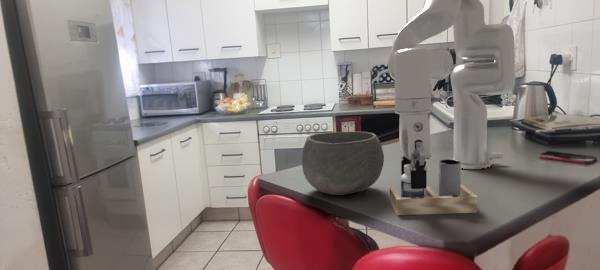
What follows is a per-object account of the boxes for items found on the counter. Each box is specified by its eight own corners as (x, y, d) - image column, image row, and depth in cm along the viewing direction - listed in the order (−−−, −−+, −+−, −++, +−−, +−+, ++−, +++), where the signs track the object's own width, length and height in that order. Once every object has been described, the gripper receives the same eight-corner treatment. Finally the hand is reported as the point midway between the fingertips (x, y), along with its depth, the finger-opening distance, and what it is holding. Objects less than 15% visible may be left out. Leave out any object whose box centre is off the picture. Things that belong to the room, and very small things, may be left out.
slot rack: (462, 199, 94) (462, 183, 94) (477, 212, 85) (477, 195, 85) (389, 201, 95) (389, 186, 94) (397, 215, 86) (396, 198, 86)
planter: (435, 203, 92) (435, 160, 91) (454, 202, 92) (455, 158, 91) (443, 210, 88) (444, 164, 86) (463, 208, 88) (464, 163, 86)
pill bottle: (406, 202, 94) (405, 161, 93) (429, 205, 91) (428, 163, 90) (397, 209, 90) (397, 167, 88) (421, 212, 87) (421, 169, 85)
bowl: (385, 181, 112) (384, 129, 110) (383, 206, 92) (382, 142, 90) (311, 180, 117) (309, 130, 115) (294, 204, 97) (291, 143, 95)
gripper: (442, 109, 78) (441, 193, 81) (420, 102, 95) (420, 171, 98) (403, 110, 79) (404, 194, 81) (388, 103, 96) (389, 173, 98)
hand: (413, 182), depth 90 cm, fingers open, 9 cm apart
